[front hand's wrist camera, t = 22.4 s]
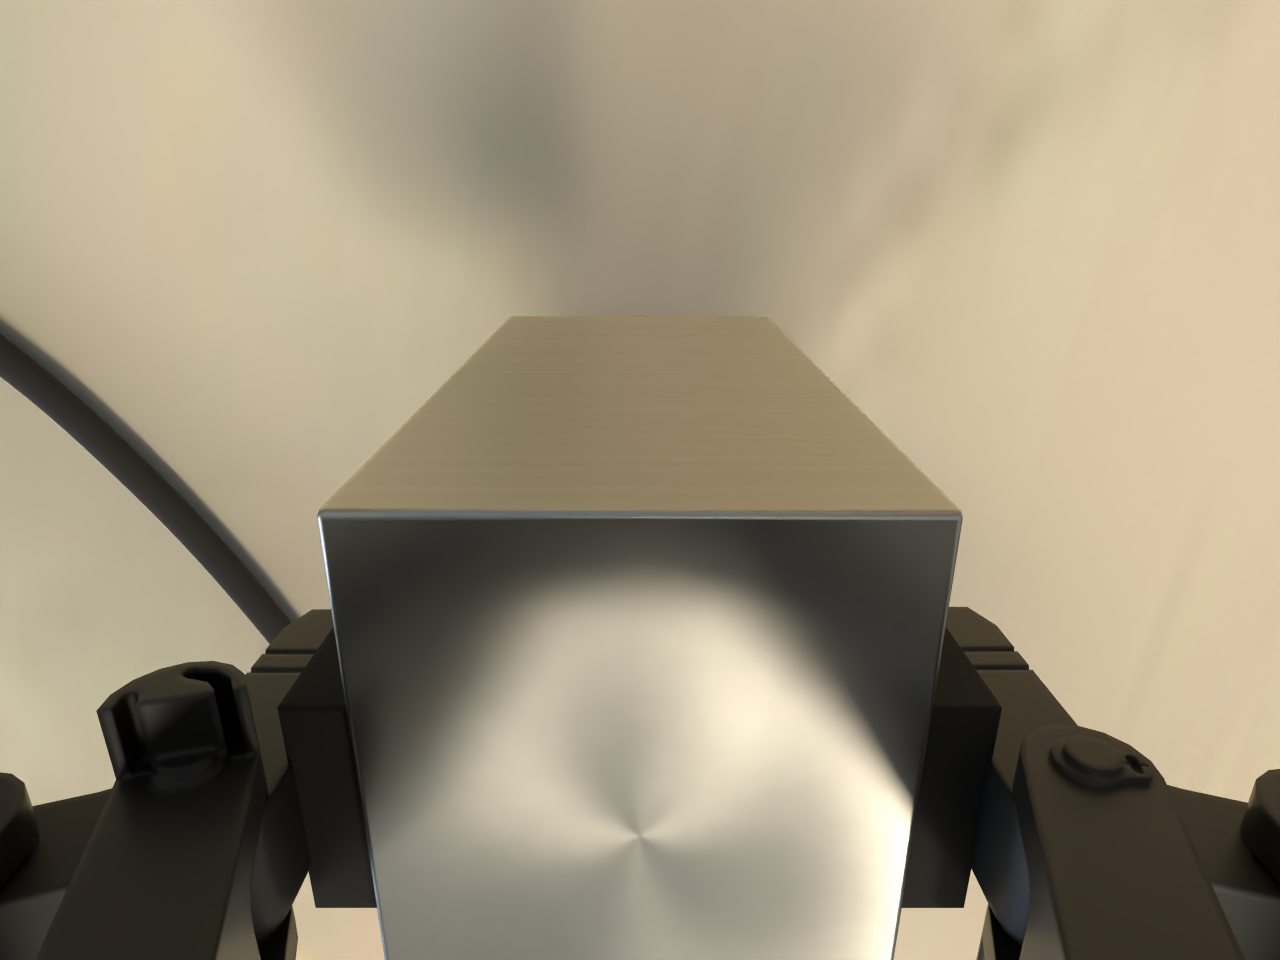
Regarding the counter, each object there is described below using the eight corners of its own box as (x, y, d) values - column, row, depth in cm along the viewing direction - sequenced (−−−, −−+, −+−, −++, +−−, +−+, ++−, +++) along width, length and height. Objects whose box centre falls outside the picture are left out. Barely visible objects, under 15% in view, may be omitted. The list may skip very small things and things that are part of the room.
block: (769, 316, 18) (967, 511, 7) (752, 606, 20) (878, 1072, 10) (509, 316, 18) (312, 511, 7) (525, 606, 20) (399, 1071, 10)
